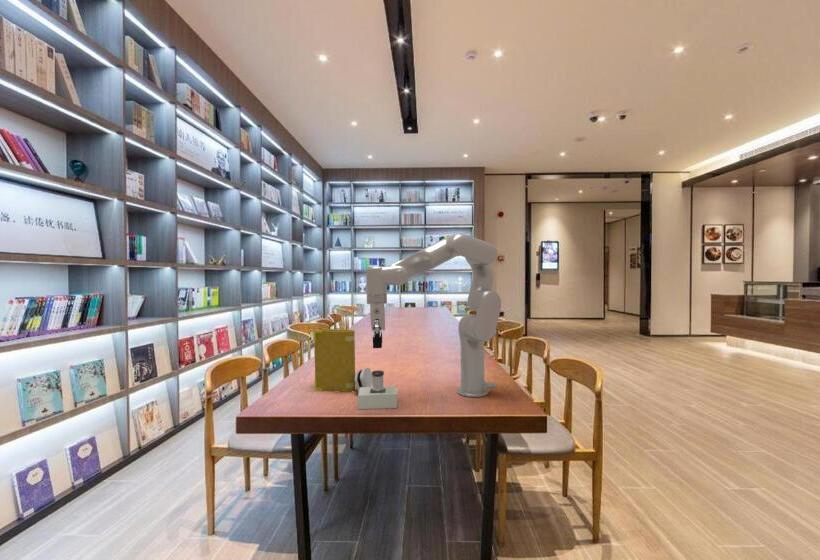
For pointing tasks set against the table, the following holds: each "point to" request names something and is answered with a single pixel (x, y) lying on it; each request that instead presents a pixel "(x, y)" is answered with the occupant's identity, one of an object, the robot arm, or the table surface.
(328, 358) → the book
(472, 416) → the table surface
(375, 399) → the socket block
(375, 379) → the pin
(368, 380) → the hinge
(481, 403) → the table surface
